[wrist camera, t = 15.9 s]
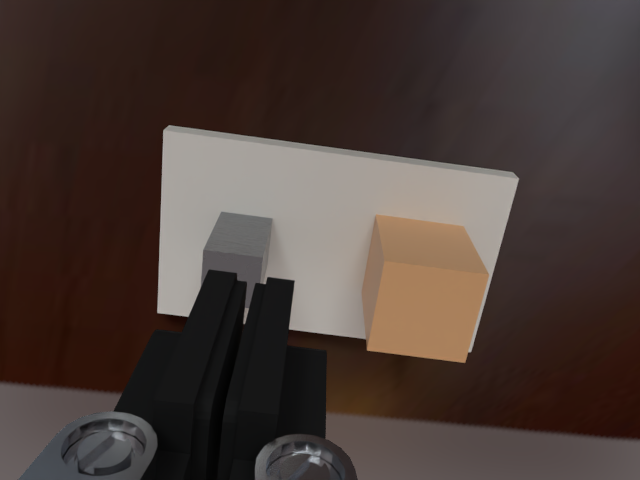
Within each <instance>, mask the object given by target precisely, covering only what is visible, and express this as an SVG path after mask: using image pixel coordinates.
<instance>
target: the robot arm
mask: <svg viewBox="0 0 640 480" xmlns="http://www.w3.org/2000/svg"><path fill="white" fill-rule="evenodd" d="M294 283H295V280H288V279H280V278H272V277H267V281H266V284H262V283H255V286H254V290H253V294H252V298H251V302H250V306H249V310H248V314H247V318H246V322H245V326H244V330H243V322H244V312H245V301H246V291H247V282H246V281H238V280H237V273H233V272H225V271H218V270H210V269H209V270H208V272H207V274H206V277H205V279H204V281H203V284H202V286H201V288H200V291H199V293H198V295H197V298H196V300H195V303H194V305H193V307H192V310H191V312H190V314H189V317H188V319H187V321H186V324H185V326H184V329H183V331H182V332H174V331H166V330H158V329H157V330H155V331H154V333H153V334H152V336H151V338H150V340H149V342H148V344H147V346H146V348H145V350H144V352H143V354H142V356H141V358H140V360H139V362H138V364H137V366H136V368H135V370H134V372H133V374H132V376H131V378H130V380H129V382H128V384H127V386H126V388H125V390H124V392H123V393H122V395H121V397H120V399H119V402H118V404H117V406H116V407H115V410H114V411H112V412H101V413H95V414H91V415H88V416H84V417H81V418H79V419H77V420H75V421H73V422H72V423H70V424H68V425H66V426H65V427H64V428H63V429H62V430H61V431H60V432H59V433H57V434H56V436H55V437H54V438H53V439H52V440H51V442H50V443H49V444H48V445H47V446H46V447H45V449H44V450H43V451H42V452H41V453H40V455H39V456H38V457H37V458H36V459H35V460H34V462H33V463H32V464H31V465H30V466H29V468H28V469H27V470H26V471H25V472H24V474H23V475H22V476H21V477H20V478H19V479H18V480H357V476H356V471H355V468H354V466H353V464H352V461H351V459H350V457H349V456H348V455H347V454H346V453H345V452H344V451H343V450H342V449H341V448H340V447H338V446H337V445H335V444H334V443H332V442H331V441H329V440H326V439H325V432H326V431H325V430H326V364H327V353H326V350H319V349H311V348H303V347H295V346H287V340H288V332H289V324H290V316H291V308H292V300H293V292H294ZM242 332H243V334H242Z"/></svg>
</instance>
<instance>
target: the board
mask: <svg viewBox="0 0 640 480" xmlns="http://www.w3.org/2000/svg"><path fill="white" fill-rule="evenodd" d="M518 181H519V178H518V177H517V176H516V175H515V174H514V173H513V172H508V171H500V170H493V169H486V168H478V167H471V166H464V165H456V164H449V163H442V162H435V161H427V160H420V159H413V158H405V157H398V156H391V155H383V154H376V153H369V152H361V151H354V150H347V149H339V148H332V147H325V146H317V145H310V144H303V143H295V142H288V141H281V140H274V139H266V138H259V137H252V136H244V135H237V134H230V133H222V132H215V131H208V130H200V129H193V128H186V127H178V126H171V125H169V126H168V127H167V128H165V129H164V130H163V159H162V190H161V220H160V250H159V281H158V311H157V313H162V314H170V315H178V316H186V317H189V314H190V312H191V310H192V307H193V305H194V303H195V300H196V298H197V295H198V293H199V291H200V288H201V276H202V261H203V249H204V247H205V245H206V243H207V241H208V239H209V237H210V234H211V232H212V230H213V228H214V226H215V224H216V222H217V220H218V218H219V215H220V213H221V212H228V213H236V214H243V215H251V216H258V217H266V218H273V220H272V229H271V238H270V246H269V255H268V264H267V269H266V273H265V278H264V282H263V284H266V281H267V277H272V278H280V279H288V280H295V283H294V292H293V300H292V308H291V316H290V324H289V329H290V330H298V331H306V332H314V333H322V334H330V335H337V336H345V337H353V338H361V339H366V335H365V324H364V314H363V303H362V287H363V282H364V276H365V271H366V265H367V260H368V255H369V249H370V244H371V238H372V233H373V227H374V222H375V217H376V214H378V215H385V216H393V217H400V218H407V219H415V220H422V221H430V222H437V223H445V224H452V225H460V226H464V228H465V230H466V232H467V233H468V235H469V237H470V239H471V241H472V243H473V245H474V247H475V249H476V250H477V252H478V254H479V256H480V258H481V260H482V262H483V264H484V266H485V268H486V269H487V271H488V273H489V278H488V281H487V285H486V289H485V292H484V296H483V300H482V303H481V307H480V310H479V314H478V318H477V321H476V325H475V329H474V332H473V336H472V339H471V343H470V347H469V350H468V352H471V351H472V347H473V343H474V340H475V336H476V333H477V329H478V325H479V322H480V318H481V315H482V311H483V307H484V304H485V300H486V296H487V293H488V289H489V286H490V282H491V278H492V275H493V271H494V267H495V264H496V260H497V257H498V253H499V249H500V246H501V242H502V238H503V235H504V231H505V228H506V224H507V220H508V217H509V213H510V210H511V206H512V202H513V199H514V195H515V191H516V188H517V184H518ZM248 310H249V308H245V312H244V322H243V324H245V322H246V318H247V314H248Z"/></svg>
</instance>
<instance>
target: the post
mask: <svg viewBox="0 0 640 480" xmlns="http://www.w3.org/2000/svg"><path fill="white" fill-rule="evenodd" d="M272 220H273V218H266V217H258V216H251V215H243V214H236V213H228V212H221V213H220V215H219V218H218V220H217V222H216V224H215V226H214V228H213V230H212V232H211V234H210V237H209V239H208V241H207V243H206V245H205V247H204V249H203V261H202V276H201V286H202V284H203V281H204V279H205V277H206V274H207V272H208V270H209V269H210V270H218V271H225V272H233V273H237V280H238V281H246V282H247V291H246V301H245V308H249V306H250V302H251V298H252V294H253V290H254V286H255V283H262V284H263V282H264V278H265V273H266V269H267V264H268V255H269V246H270V238H271V229H272Z"/></svg>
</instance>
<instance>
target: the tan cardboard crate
mask: <svg viewBox="0 0 640 480" xmlns="http://www.w3.org/2000/svg"><path fill="white" fill-rule="evenodd" d="M488 278H489V273H488V271H487V269H486V268H485V266H484V264H483V262H482V260H481V258H480V256H479V254H478V252H477V250H476V249H475V247H474V245H473V243H472V241H471V239H470V237H469V235H468V233H467V232H466V230H465V228H464V226H460V225H452V224H445V223H437V222H430V221H422V220H415V219H407V218H400V217H393V216H385V215H378V214H376V217H375V222H374V227H373V233H372V238H371V244H370V249H369V255H368V260H367V265H366V271H365V276H364V282H363V287H362V303H363V314H364V324H365V335H366V346H367V351H375V352H383V353H391V354H399V355H407V356H415V357H423V358H431V359H439V360H447V361H455V362H463V363H465V361H466V358H467V354H468V350H469V347H470V343H471V339H472V336H473V332H474V329H475V325H476V321H477V318H478V314H479V310H480V307H481V303H482V300H483V296H484V292H485V289H486V285H487V281H488Z"/></svg>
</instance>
